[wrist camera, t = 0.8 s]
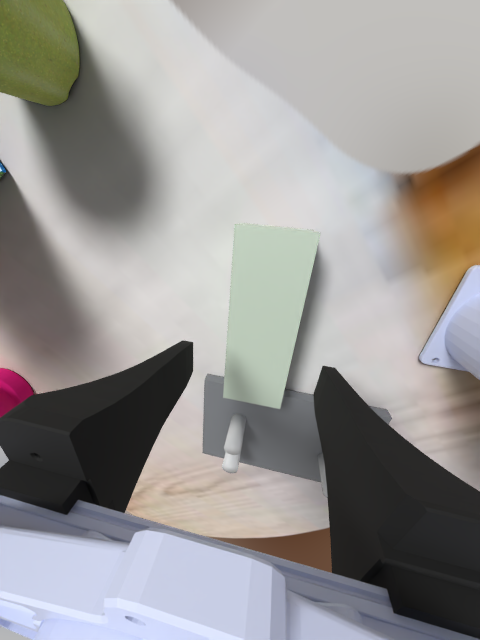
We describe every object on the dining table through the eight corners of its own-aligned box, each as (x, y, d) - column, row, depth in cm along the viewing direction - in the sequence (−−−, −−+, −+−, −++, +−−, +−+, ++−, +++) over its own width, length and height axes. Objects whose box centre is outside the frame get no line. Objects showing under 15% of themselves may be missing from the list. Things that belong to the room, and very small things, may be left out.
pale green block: (244, 223, 17) (234, 224, 13) (312, 229, 16) (320, 233, 12) (232, 369, 23) (222, 397, 19) (280, 378, 22) (280, 409, 18)
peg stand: (387, 409, 21) (411, 455, 17) (348, 480, 26) (359, 527, 22) (207, 373, 23) (191, 406, 19) (205, 445, 28) (192, 483, 24)
